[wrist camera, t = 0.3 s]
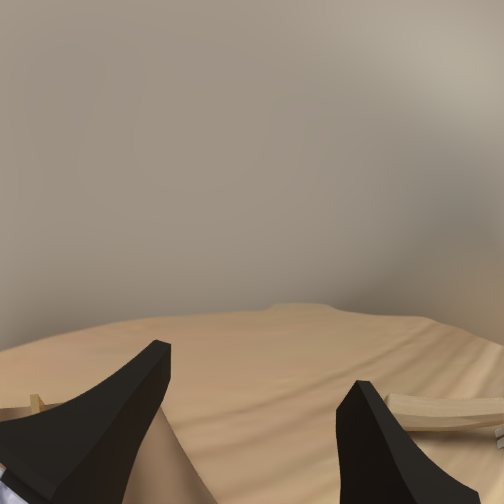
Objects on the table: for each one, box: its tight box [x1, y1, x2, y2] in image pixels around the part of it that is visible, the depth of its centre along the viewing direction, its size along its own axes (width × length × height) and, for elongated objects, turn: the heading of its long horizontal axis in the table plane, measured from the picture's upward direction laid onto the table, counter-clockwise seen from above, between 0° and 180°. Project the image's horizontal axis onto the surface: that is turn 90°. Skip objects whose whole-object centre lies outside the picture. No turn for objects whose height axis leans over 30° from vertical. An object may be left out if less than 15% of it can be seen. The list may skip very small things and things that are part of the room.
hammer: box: [384, 393, 504, 449], centre depth 22 cm, size 16×5×30 cm
